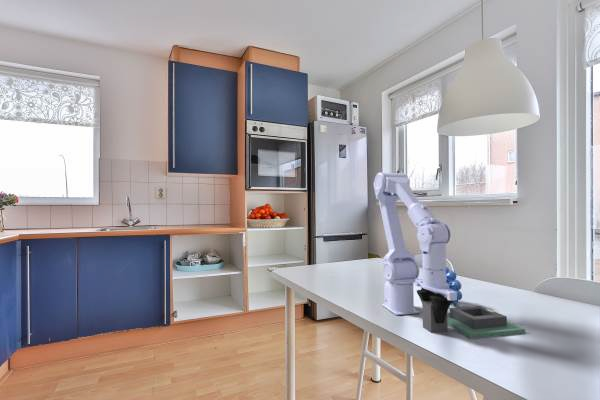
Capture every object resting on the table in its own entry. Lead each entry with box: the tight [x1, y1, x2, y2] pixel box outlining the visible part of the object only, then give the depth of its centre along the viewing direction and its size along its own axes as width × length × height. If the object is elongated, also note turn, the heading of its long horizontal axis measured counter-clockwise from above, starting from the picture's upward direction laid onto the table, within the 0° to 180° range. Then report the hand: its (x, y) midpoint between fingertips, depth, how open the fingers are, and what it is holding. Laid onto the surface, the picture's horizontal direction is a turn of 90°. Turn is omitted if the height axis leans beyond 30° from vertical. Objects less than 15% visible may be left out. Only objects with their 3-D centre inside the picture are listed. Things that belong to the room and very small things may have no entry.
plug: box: [421, 301, 448, 334], centre depth 80 cm, size 4×5×7 cm
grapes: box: [446, 266, 463, 306], centre depth 101 cm, size 12×7×12 cm, turn 14°
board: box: [447, 305, 526, 339], centre depth 82 cm, size 14×16×4 cm
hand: (434, 319), depth 80 cm, fingers closed on plug, 4 cm apart
